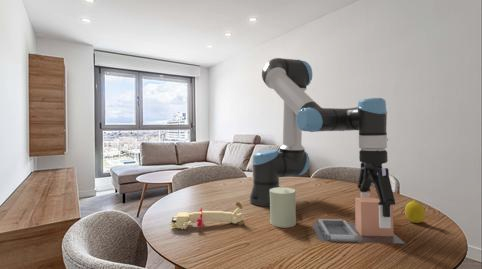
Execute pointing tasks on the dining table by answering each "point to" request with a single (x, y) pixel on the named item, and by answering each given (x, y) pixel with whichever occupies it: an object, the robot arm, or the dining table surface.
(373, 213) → the terracotta block
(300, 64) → the robot arm
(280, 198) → the can
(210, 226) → the dining table surface
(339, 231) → the pocket plate
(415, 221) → the lemon
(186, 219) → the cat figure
